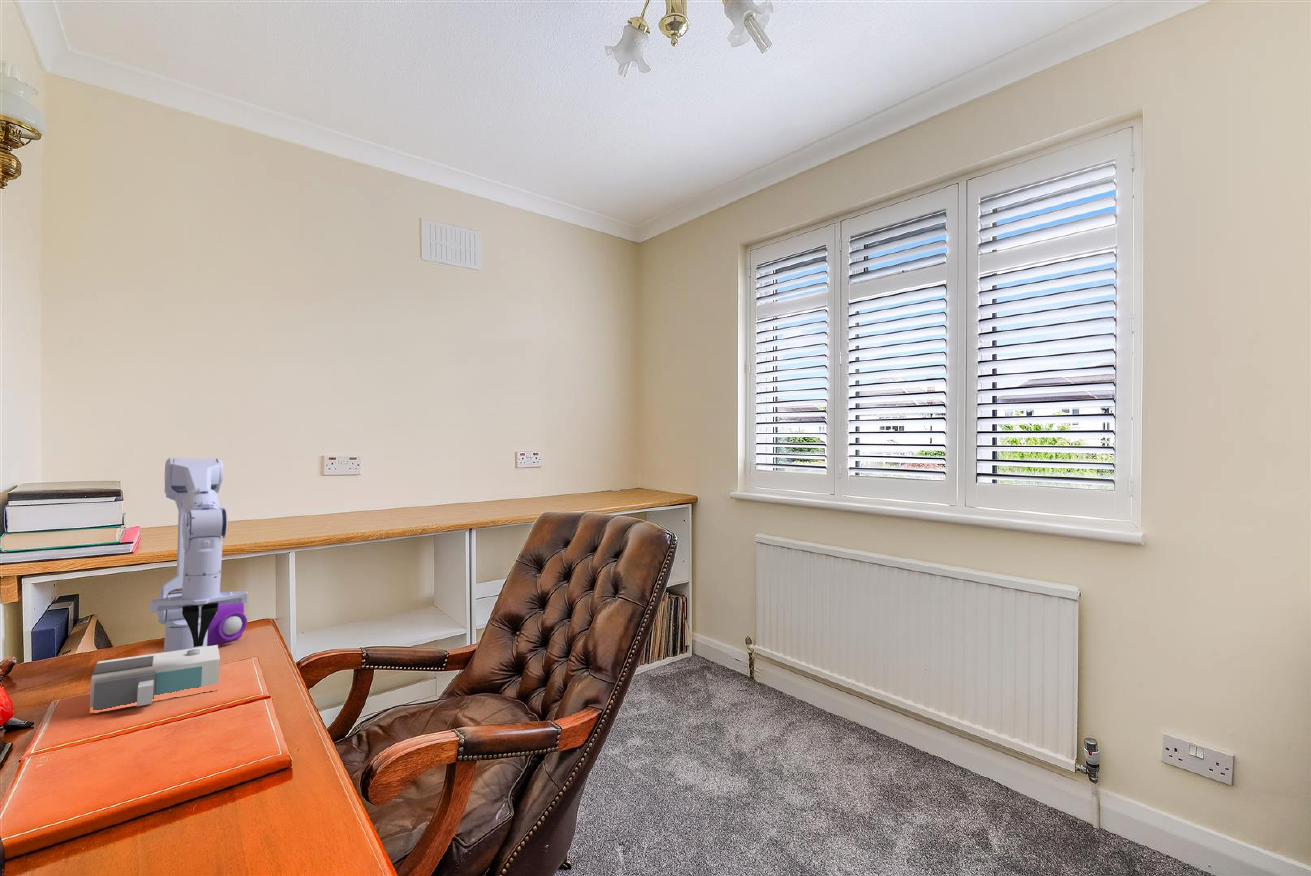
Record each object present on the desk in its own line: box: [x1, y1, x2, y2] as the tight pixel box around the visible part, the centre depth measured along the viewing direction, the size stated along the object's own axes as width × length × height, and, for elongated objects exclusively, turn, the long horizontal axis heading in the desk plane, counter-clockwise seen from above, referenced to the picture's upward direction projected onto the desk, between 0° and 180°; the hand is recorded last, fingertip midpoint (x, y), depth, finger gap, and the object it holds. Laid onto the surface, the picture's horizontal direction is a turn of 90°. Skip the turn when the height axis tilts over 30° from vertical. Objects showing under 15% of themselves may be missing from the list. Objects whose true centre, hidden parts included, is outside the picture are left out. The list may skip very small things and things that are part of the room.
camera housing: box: [89, 644, 221, 708], centre depth 112 cm, size 10×18×7 cm, turn 129°
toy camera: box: [207, 603, 248, 646], centre depth 141 cm, size 11×14×10 cm
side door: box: [93, 672, 156, 710], centre depth 103 cm, size 4×8×5 cm, turn 129°
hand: (198, 645), depth 111 cm, fingers closed
